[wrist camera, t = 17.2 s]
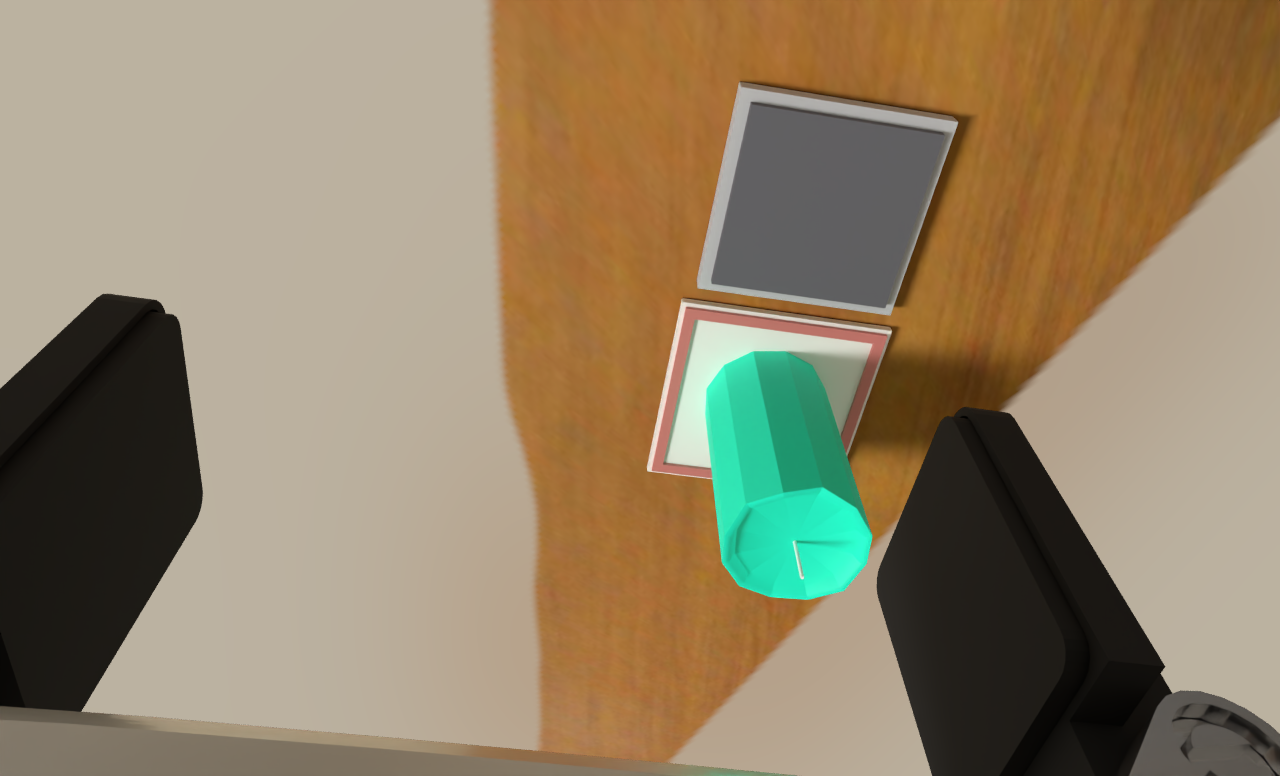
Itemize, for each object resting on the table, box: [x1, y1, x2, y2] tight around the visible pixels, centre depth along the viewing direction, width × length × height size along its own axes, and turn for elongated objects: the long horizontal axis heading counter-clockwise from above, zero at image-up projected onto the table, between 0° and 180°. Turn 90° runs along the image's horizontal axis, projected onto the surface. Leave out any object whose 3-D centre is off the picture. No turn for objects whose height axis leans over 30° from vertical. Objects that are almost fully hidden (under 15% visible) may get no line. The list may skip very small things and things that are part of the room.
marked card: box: [647, 298, 892, 479], centre depth 45 cm, size 10×10×1 cm
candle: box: [705, 351, 872, 600], centre depth 40 cm, size 6×6×12 cm
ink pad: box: [697, 82, 958, 315], centre depth 39 cm, size 9×9×1 cm
